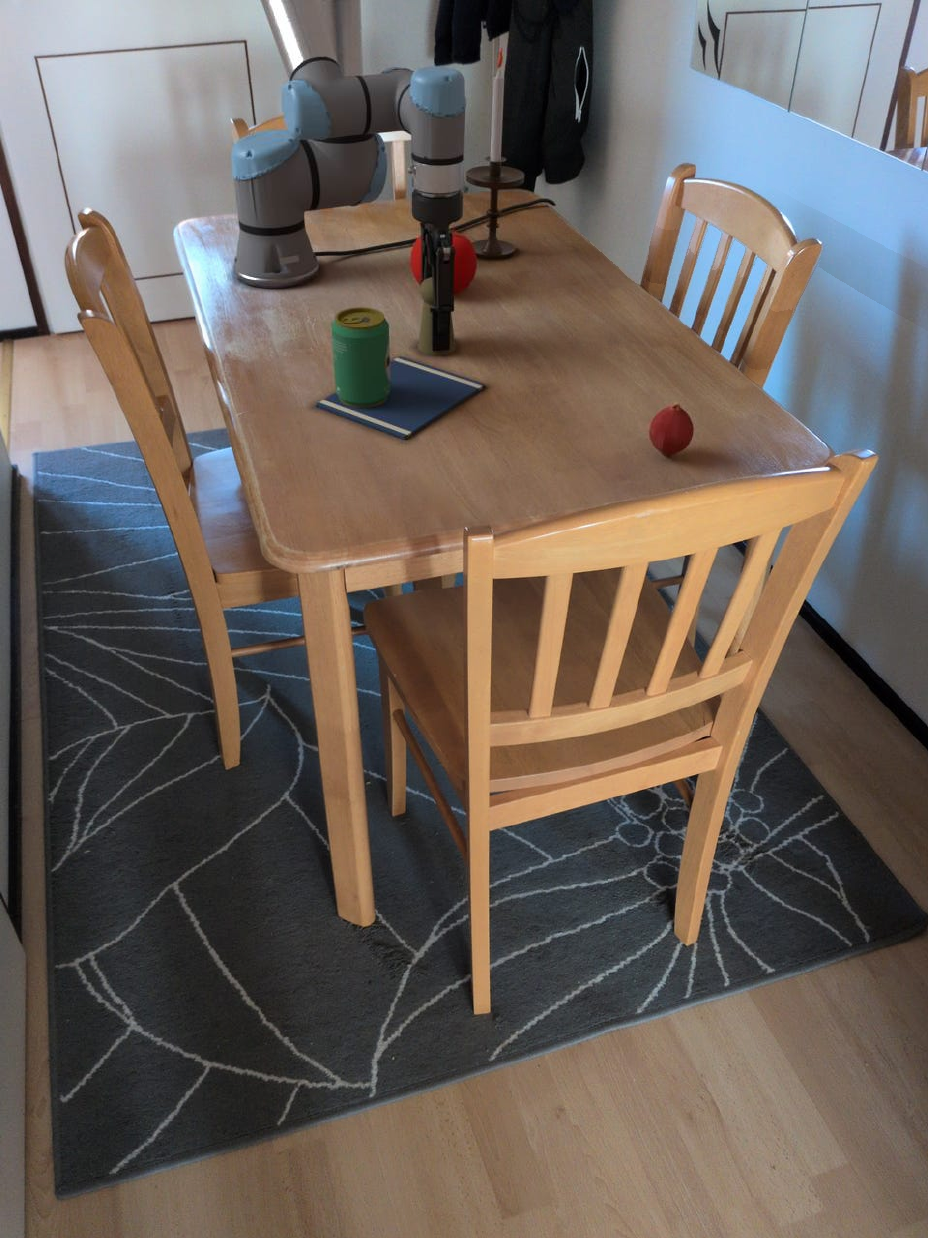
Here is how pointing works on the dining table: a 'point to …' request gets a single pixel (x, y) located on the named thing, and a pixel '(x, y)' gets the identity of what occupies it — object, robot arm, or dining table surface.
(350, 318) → the beverage can
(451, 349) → the olive game pawn
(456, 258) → the tomato
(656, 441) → the onion
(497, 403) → the dining table surface
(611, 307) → the dining table surface
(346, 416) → the towel
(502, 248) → the candlestick
